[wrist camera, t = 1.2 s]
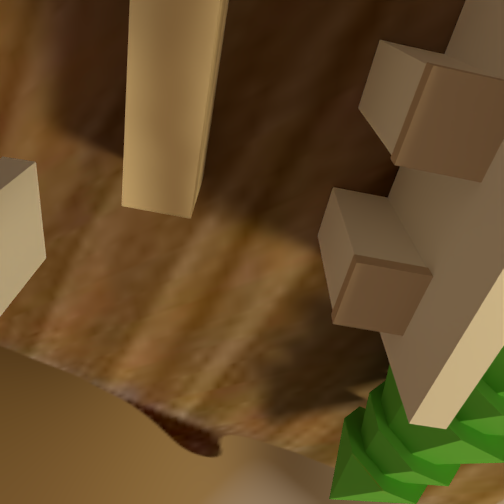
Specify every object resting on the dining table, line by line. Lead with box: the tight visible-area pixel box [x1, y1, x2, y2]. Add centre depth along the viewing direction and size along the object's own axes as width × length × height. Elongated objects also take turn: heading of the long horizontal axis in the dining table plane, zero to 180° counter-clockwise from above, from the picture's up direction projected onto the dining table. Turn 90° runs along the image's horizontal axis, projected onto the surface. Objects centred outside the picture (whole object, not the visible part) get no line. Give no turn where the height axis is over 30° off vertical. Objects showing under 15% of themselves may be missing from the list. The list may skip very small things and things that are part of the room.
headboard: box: [317, 0, 504, 429], centre depth 23 cm, size 20×6×14 cm, turn 169°
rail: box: [122, 0, 229, 219], centre depth 24 cm, size 4×16×6 cm, turn 169°
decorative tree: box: [329, 346, 504, 504], centre depth 34 cm, size 11×12×30 cm
